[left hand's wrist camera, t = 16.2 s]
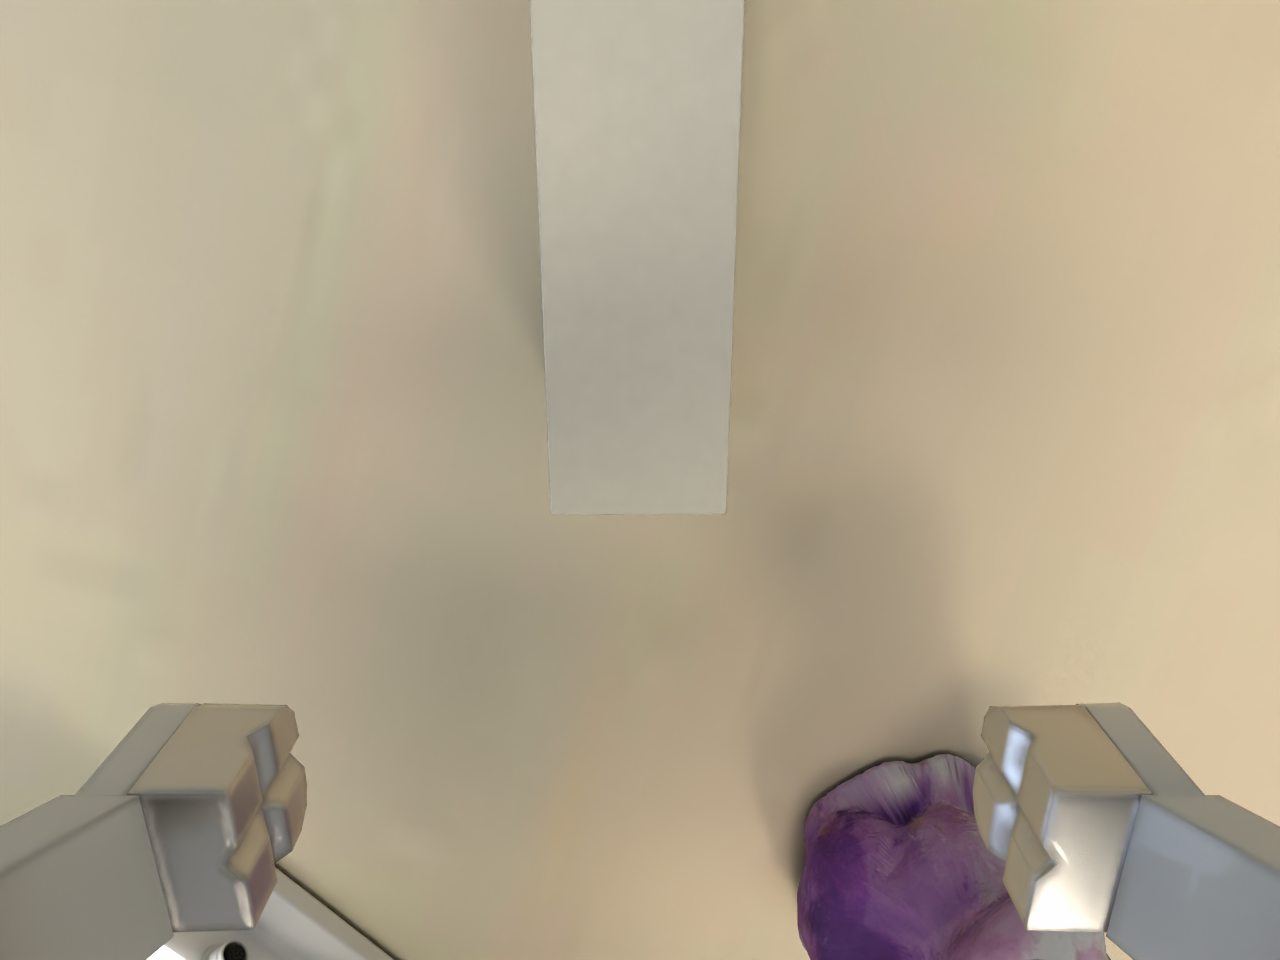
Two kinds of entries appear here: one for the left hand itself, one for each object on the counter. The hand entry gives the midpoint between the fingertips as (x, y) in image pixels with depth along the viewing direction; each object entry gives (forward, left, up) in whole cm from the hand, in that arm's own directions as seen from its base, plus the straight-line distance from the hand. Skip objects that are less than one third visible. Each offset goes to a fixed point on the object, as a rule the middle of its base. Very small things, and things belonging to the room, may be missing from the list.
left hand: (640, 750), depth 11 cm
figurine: (-22, +10, -22) cm, 33 cm away
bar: (+6, -7, -22) cm, 24 cm away
